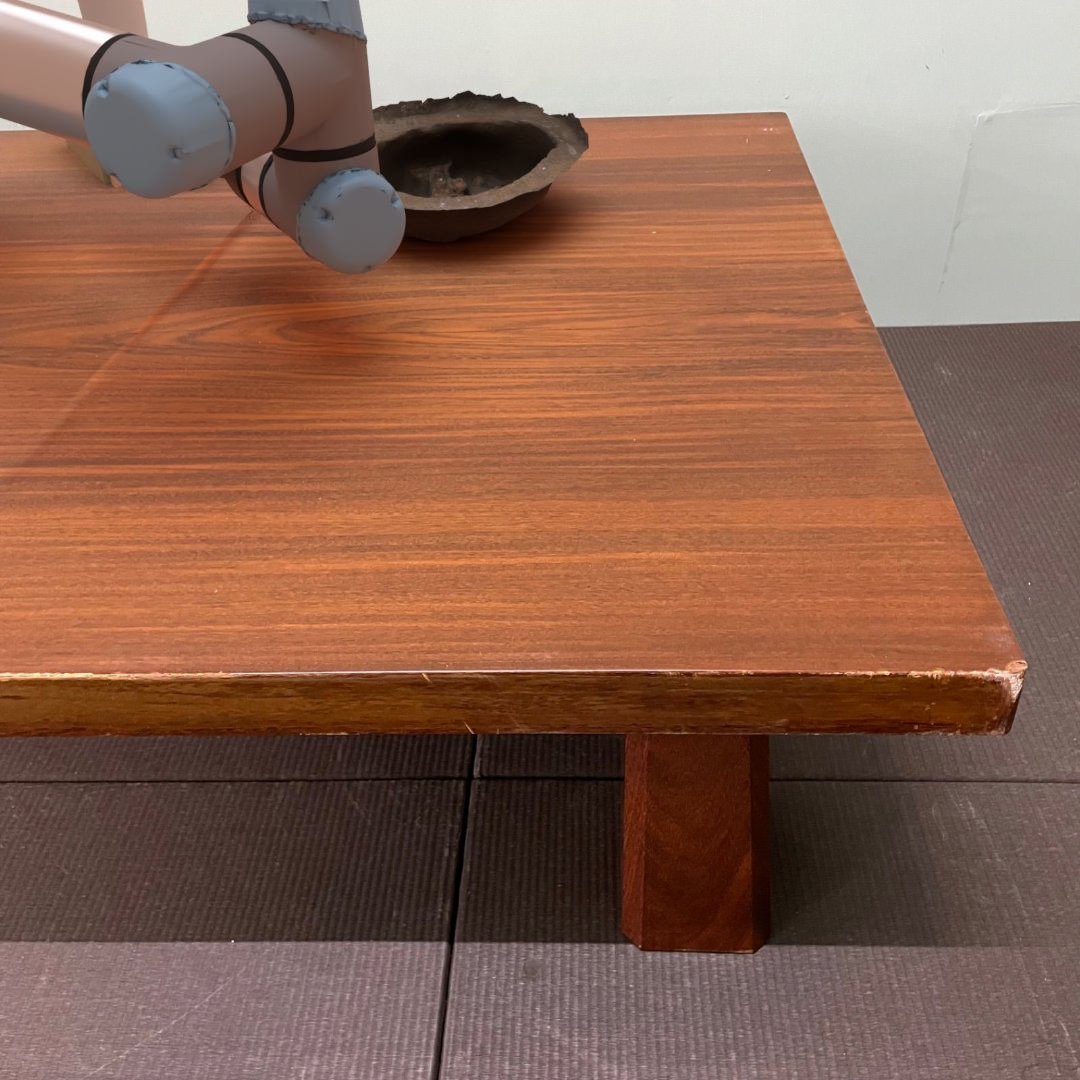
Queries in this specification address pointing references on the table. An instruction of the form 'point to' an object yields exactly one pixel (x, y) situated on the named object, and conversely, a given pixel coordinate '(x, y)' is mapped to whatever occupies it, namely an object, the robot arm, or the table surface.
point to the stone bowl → (472, 160)
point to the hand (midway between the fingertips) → (197, 112)
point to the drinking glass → (116, 14)
